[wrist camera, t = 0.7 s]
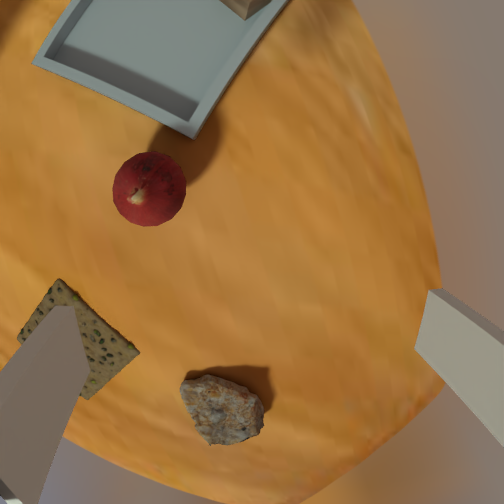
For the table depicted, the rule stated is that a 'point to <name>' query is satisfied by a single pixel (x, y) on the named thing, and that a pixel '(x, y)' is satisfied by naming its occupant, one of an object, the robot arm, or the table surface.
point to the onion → (149, 189)
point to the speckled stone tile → (86, 337)
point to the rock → (222, 409)
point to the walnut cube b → (245, 7)
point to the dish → (155, 53)
